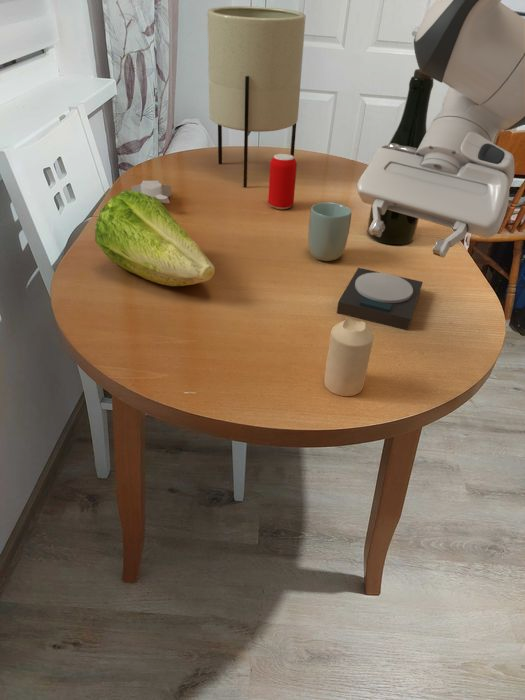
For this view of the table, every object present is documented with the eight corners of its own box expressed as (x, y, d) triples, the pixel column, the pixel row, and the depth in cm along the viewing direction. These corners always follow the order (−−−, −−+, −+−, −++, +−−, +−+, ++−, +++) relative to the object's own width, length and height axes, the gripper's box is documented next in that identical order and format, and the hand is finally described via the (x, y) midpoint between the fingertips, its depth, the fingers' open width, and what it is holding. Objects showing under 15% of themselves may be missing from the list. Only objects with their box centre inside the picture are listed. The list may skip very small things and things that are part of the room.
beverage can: (294, 211, 125) (298, 160, 118) (268, 210, 124) (271, 159, 117) (291, 202, 130) (295, 152, 122) (267, 201, 129) (269, 152, 122)
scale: (420, 292, 95) (423, 278, 93) (407, 330, 84) (411, 315, 83) (356, 277, 98) (358, 264, 97) (336, 312, 88) (338, 298, 86)
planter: (201, 187, 138) (195, 14, 114) (220, 157, 157) (218, 3, 133) (288, 195, 137) (301, 21, 112) (296, 164, 155) (309, 9, 131)
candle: (316, 376, 73) (325, 316, 68) (350, 368, 75) (361, 309, 69) (335, 400, 69) (346, 339, 63) (370, 391, 71) (384, 331, 65)
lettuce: (241, 292, 94) (177, 329, 85) (156, 240, 106) (92, 269, 97) (242, 220, 84) (170, 254, 76) (148, 172, 96) (77, 197, 87)
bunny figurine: (169, 176, 129) (172, 189, 116) (171, 197, 131) (174, 212, 118) (130, 177, 127) (129, 190, 114) (132, 198, 130) (131, 213, 117)
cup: (331, 246, 109) (337, 200, 103) (351, 261, 104) (359, 213, 98) (299, 251, 106) (303, 204, 100) (318, 268, 101) (324, 219, 95)
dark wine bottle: (414, 249, 110) (456, 75, 91) (365, 242, 112) (395, 71, 92) (413, 230, 119) (450, 68, 99) (367, 224, 120) (395, 63, 101)
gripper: (377, 127, 73) (333, 212, 72) (526, 158, 64) (477, 256, 63) (385, 153, 79) (344, 232, 78) (524, 186, 69) (478, 276, 69)
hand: (405, 244), depth 70 cm, fingers open, 8 cm apart
